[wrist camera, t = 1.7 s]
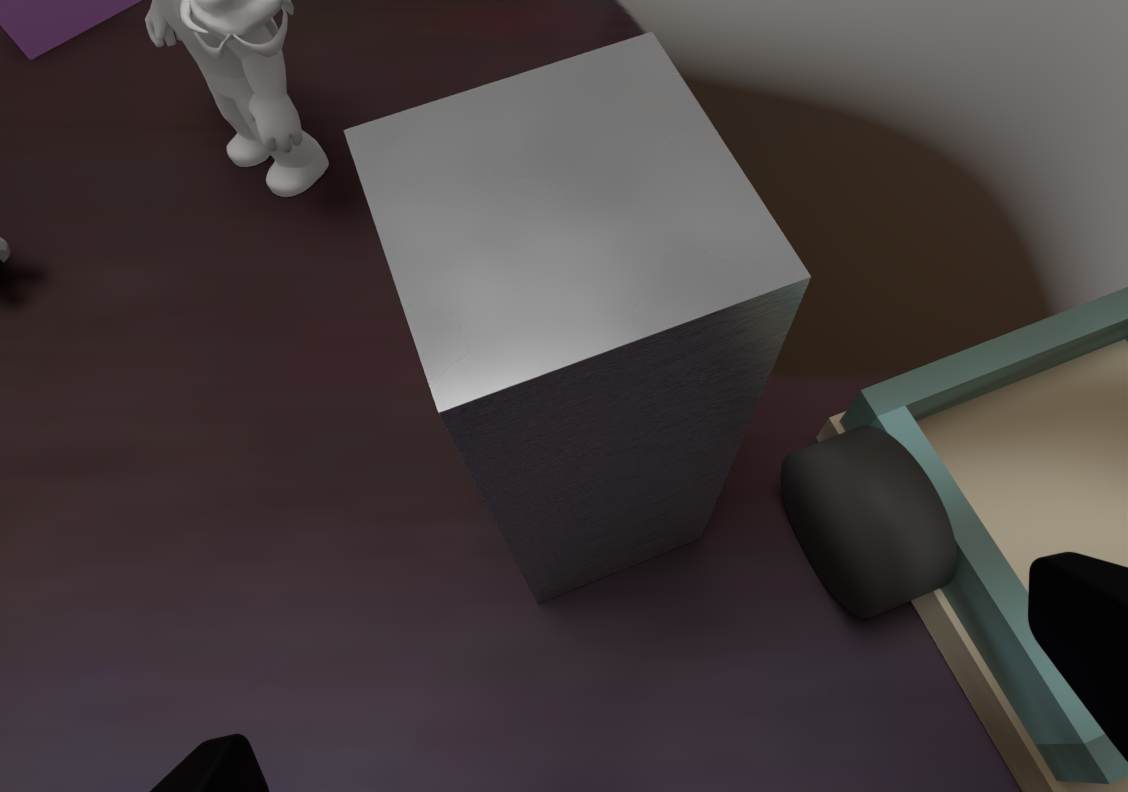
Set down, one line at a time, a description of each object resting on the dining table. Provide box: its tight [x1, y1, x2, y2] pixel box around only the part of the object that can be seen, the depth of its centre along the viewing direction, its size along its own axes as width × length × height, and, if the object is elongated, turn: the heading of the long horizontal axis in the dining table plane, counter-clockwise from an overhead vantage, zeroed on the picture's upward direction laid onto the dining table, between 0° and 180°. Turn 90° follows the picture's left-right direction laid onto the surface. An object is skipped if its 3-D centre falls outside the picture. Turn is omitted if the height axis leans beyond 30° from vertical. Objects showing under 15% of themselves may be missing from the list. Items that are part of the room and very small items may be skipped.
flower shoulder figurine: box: [145, 0, 329, 197], centre depth 23 cm, size 9×4×12 cm, turn 46°
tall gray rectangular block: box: [344, 32, 811, 604], centre depth 16 cm, size 5×5×13 cm
